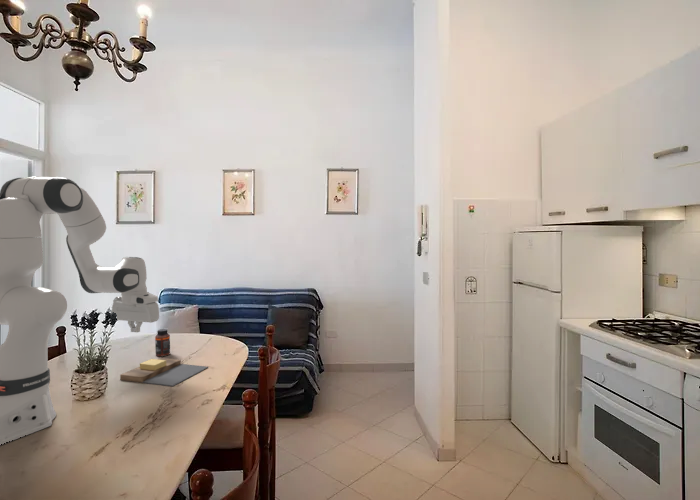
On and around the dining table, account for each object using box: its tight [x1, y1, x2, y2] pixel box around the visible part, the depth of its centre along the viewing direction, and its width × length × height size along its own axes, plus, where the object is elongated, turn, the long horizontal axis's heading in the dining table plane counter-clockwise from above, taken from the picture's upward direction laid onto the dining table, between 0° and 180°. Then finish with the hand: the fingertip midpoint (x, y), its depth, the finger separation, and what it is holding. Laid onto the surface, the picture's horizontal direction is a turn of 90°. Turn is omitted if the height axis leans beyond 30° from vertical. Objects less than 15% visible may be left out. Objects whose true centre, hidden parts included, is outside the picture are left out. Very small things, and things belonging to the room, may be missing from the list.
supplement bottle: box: [154, 328, 171, 357], centre depth 169 cm, size 6×6×11 cm
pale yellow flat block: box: [139, 358, 166, 370], centre depth 148 cm, size 6×7×2 cm
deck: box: [119, 357, 182, 384], centre depth 148 cm, size 20×10×2 cm, turn 164°
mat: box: [142, 363, 209, 387], centre depth 145 cm, size 20×13×1 cm, turn 164°
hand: (135, 331), depth 150 cm, fingers closed
